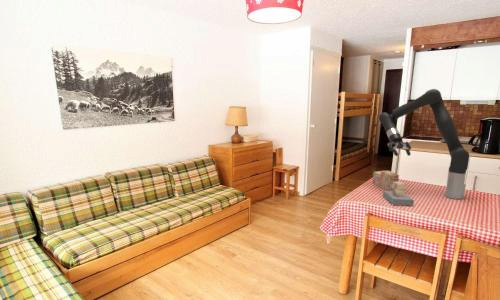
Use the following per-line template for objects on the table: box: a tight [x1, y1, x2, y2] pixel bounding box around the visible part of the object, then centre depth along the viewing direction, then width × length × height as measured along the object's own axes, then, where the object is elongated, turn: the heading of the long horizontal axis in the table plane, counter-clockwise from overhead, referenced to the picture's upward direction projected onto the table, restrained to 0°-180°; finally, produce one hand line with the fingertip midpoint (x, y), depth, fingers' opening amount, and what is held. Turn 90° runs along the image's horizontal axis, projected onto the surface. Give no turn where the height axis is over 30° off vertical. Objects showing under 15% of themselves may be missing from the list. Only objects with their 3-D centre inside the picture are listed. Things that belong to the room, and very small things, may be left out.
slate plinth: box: [382, 190, 415, 207], centre depth 176 cm, size 12×16×4 cm
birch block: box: [392, 181, 406, 196], centre depth 175 cm, size 5×5×8 cm
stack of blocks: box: [372, 170, 400, 191], centre depth 205 cm, size 21×6×12 cm, turn 8°
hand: (403, 155), depth 182 cm, fingers open, 8 cm apart
